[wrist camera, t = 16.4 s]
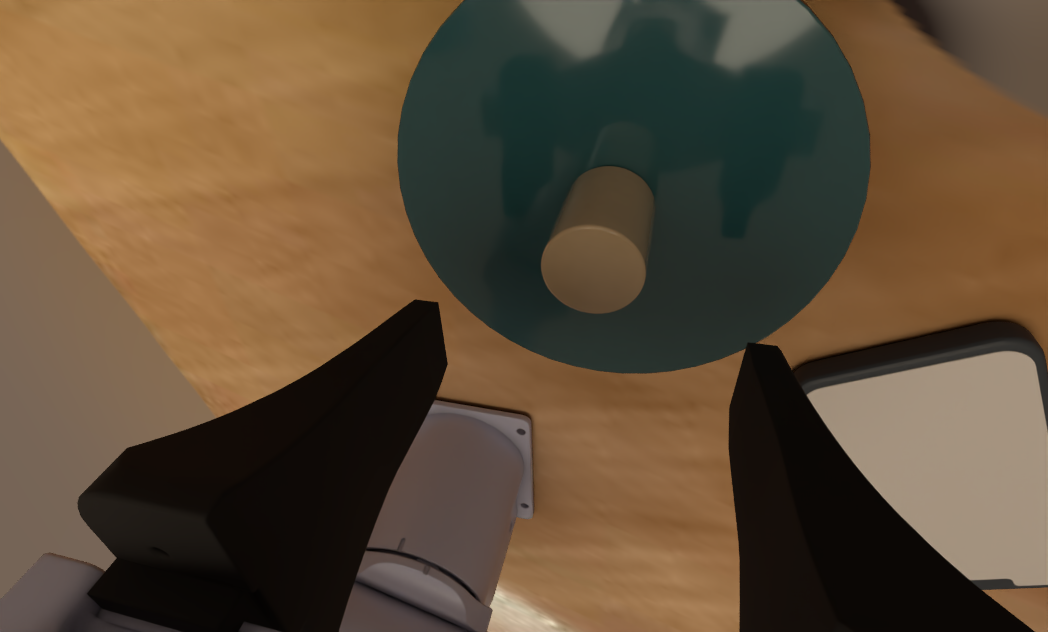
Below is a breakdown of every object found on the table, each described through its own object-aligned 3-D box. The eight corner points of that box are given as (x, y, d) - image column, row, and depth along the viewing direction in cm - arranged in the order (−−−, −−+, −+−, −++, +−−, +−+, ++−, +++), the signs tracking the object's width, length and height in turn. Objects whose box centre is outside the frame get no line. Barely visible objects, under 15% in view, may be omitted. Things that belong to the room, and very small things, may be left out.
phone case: (776, 362, 25) (867, 568, 32) (779, 387, 24) (873, 596, 31) (1027, 304, 21) (1072, 557, 28) (1047, 331, 20) (1089, 589, 26)
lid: (788, 376, 19) (806, 485, 15) (438, 326, 21) (390, 412, 18) (952, -75, 11) (1054, -46, 8) (376, -68, 14) (273, -44, 10)
